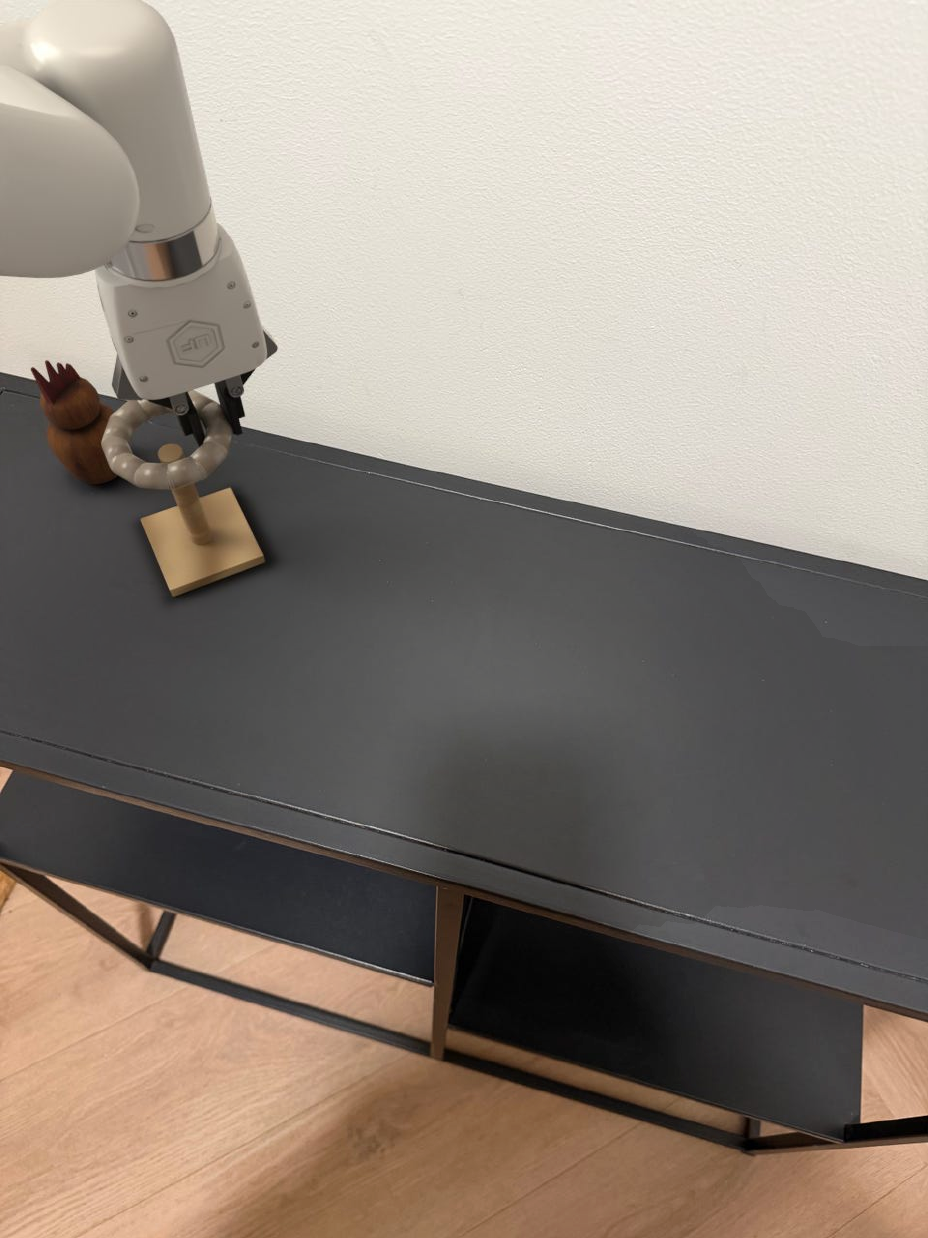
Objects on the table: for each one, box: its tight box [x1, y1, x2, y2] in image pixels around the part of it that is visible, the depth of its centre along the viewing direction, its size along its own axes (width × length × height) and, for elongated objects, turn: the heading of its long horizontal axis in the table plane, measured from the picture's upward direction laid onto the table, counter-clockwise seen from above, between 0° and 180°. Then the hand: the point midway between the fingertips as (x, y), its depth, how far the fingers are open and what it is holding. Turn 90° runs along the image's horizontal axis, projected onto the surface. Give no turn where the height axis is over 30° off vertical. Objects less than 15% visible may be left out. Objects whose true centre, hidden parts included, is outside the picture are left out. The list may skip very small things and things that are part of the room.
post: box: [140, 443, 266, 598], centre depth 75 cm, size 9×9×13 cm
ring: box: [101, 389, 233, 491], centre depth 68 cm, size 10×10×2 cm
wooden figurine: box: [30, 359, 119, 485], centre depth 78 cm, size 7×6×15 cm
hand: (214, 427), depth 69 cm, fingers closed on ring, 2 cm apart
